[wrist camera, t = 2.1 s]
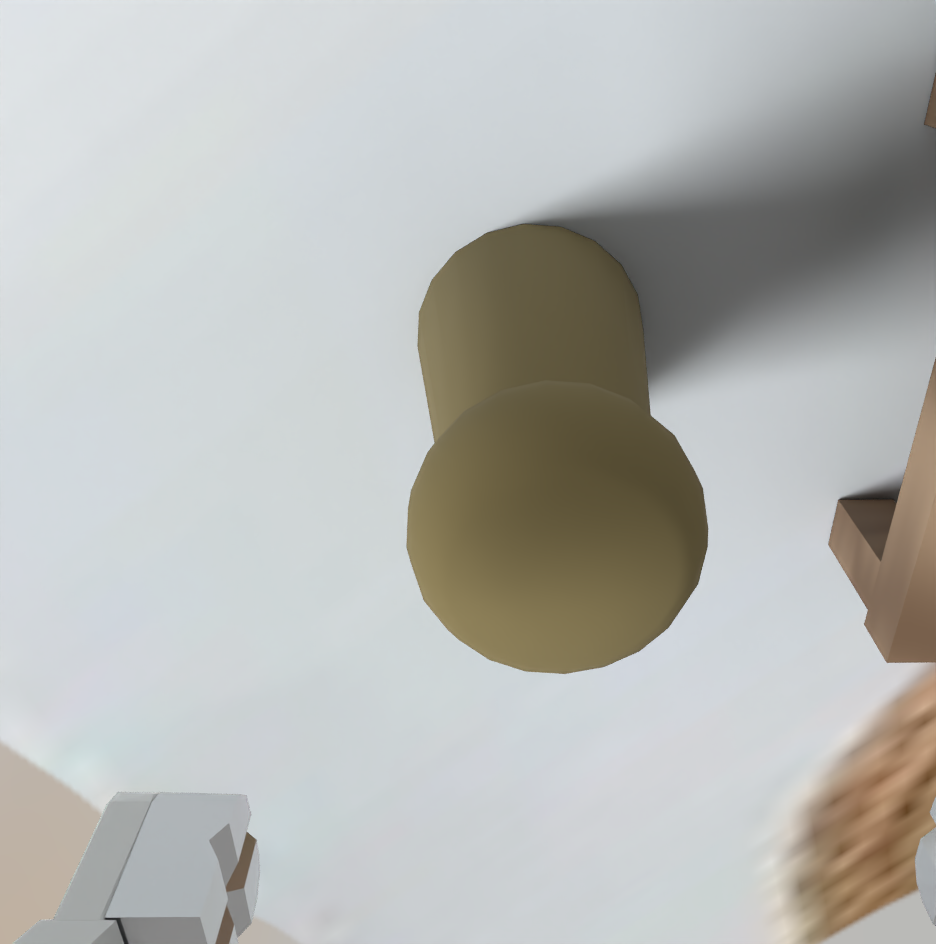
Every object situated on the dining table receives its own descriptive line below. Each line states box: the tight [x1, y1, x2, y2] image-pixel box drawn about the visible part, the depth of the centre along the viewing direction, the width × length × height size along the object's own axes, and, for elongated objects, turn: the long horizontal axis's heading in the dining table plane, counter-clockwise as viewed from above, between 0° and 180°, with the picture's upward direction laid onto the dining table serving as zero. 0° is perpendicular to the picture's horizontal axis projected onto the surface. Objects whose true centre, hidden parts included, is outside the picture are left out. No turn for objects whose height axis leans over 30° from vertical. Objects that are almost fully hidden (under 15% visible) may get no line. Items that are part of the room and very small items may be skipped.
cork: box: [407, 224, 708, 674], centre depth 18 cm, size 6×6×11 cm
